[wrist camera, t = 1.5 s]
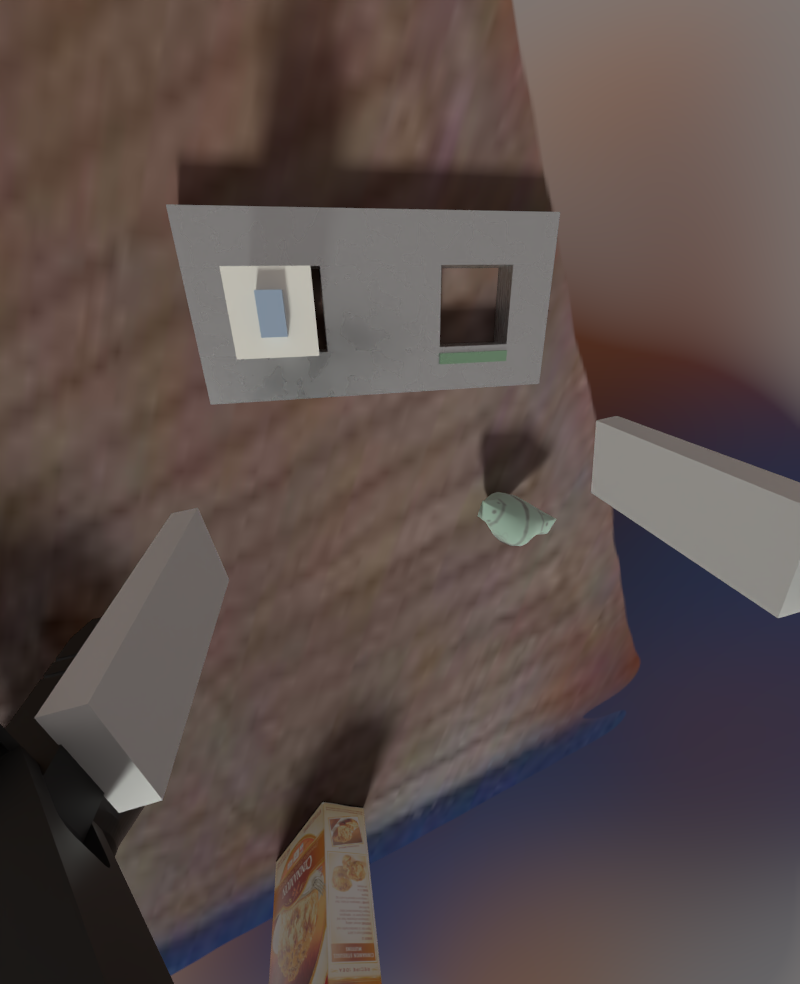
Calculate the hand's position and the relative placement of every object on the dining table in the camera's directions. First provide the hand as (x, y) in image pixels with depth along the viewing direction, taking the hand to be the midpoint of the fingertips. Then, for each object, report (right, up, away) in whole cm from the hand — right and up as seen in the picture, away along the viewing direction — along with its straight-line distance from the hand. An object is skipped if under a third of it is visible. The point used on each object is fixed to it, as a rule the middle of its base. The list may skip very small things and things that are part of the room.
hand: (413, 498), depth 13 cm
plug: (-9, +14, +17) cm, 23 cm away
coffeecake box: (-12, -50, +46) cm, 69 cm away
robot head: (+9, -1, +28) cm, 29 cm away
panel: (-2, +14, +18) cm, 23 cm away
